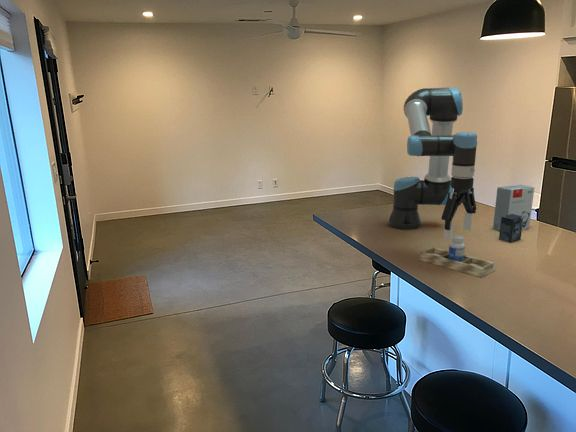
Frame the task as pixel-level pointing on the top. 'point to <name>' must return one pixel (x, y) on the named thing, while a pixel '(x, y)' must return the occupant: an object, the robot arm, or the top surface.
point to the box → (511, 228)
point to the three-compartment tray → (465, 266)
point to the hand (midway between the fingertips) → (457, 234)
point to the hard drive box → (513, 204)
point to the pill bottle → (456, 249)
